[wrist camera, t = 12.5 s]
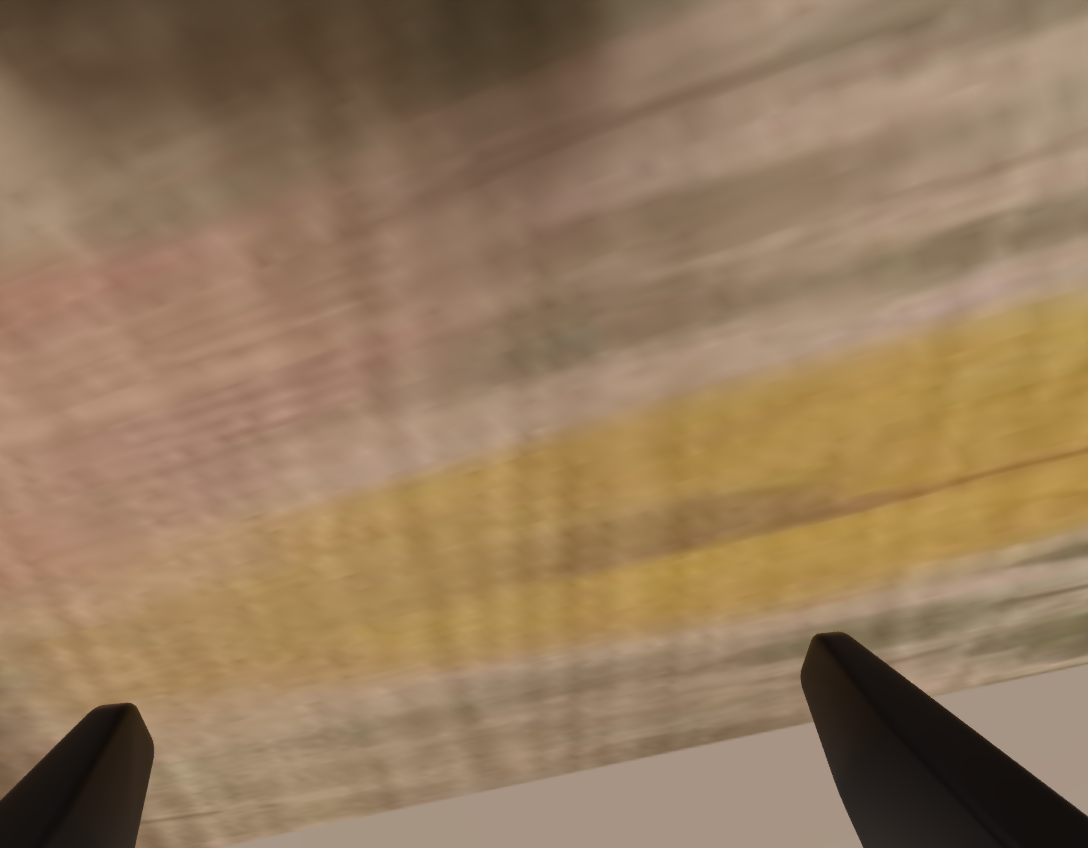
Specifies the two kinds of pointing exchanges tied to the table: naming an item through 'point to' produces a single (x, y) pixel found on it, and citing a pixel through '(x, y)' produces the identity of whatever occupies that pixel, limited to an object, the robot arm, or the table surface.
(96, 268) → the table surface
